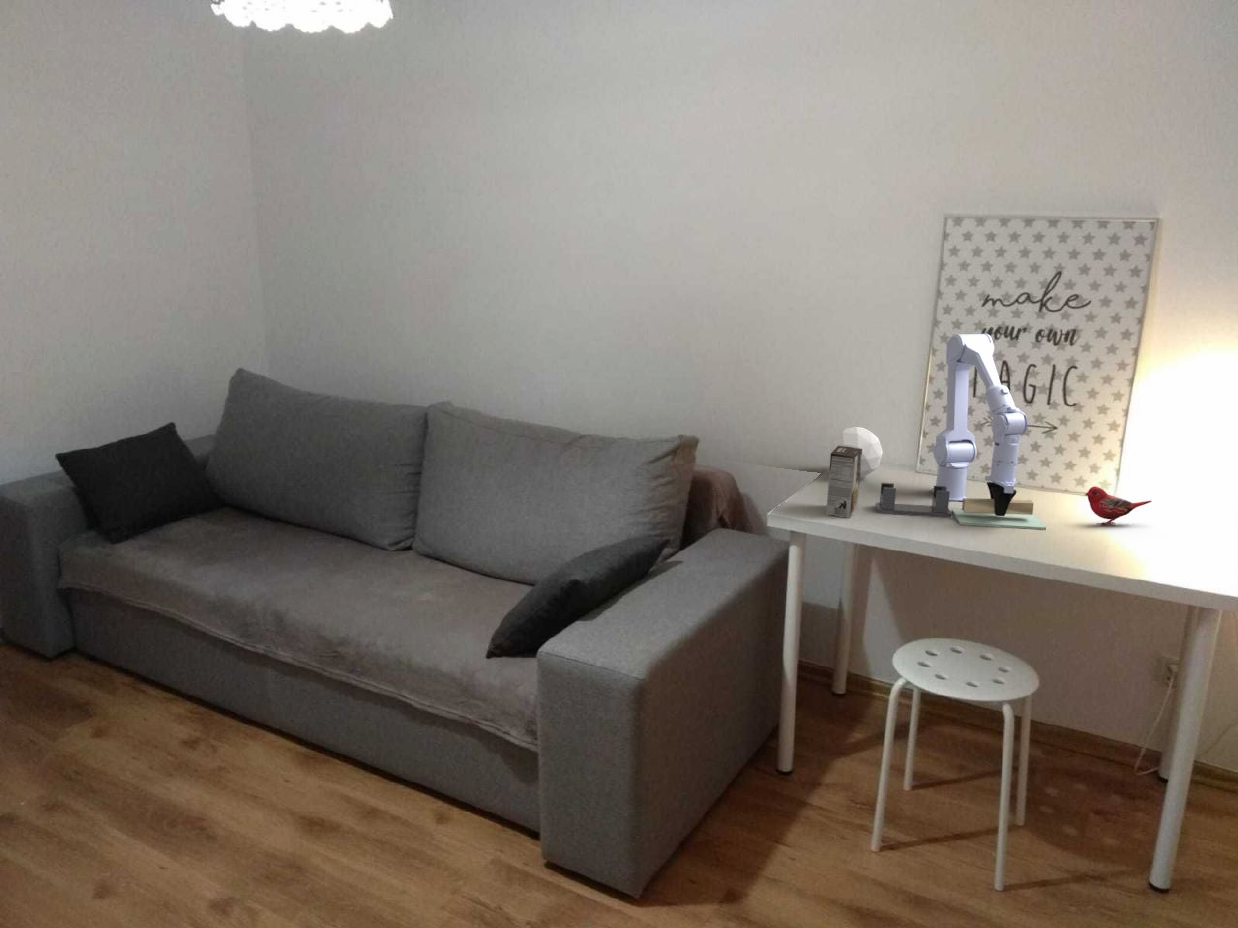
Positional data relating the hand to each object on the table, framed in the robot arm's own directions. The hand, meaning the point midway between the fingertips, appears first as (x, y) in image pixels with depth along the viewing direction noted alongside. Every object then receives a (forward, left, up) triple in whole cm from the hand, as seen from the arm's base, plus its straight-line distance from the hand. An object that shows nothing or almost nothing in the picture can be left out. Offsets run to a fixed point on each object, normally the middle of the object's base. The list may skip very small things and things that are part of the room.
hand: (998, 513), depth 235 cm
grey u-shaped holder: (-3, -20, -2) cm, 20 cm away
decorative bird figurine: (-2, +28, -2) cm, 28 cm away
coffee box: (+1, -38, -2) cm, 38 cm away
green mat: (0, 0, -2) cm, 2 cm away
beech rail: (0, 0, 0) cm, 1 cm away
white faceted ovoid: (-33, -31, -2) cm, 45 cm away
